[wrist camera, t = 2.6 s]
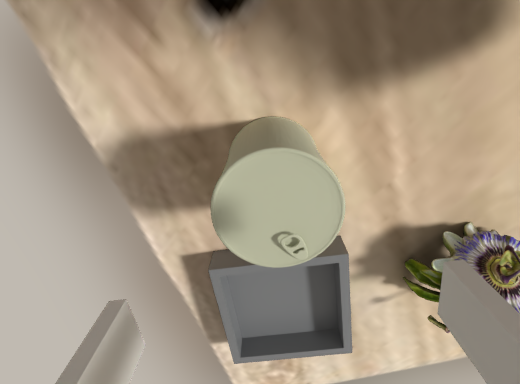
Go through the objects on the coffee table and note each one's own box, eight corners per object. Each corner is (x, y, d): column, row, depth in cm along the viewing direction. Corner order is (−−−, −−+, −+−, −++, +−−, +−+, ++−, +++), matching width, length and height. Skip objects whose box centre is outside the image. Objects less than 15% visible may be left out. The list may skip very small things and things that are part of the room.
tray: (213, 251, 35) (208, 270, 32) (340, 235, 34) (348, 253, 30) (236, 340, 41) (234, 363, 37) (345, 329, 40) (352, 352, 36)
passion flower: (438, 207, 38) (569, 220, 28) (448, 281, 40) (572, 318, 30) (384, 241, 33) (519, 273, 23) (399, 324, 35) (528, 387, 25)
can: (256, 215, 33) (252, 291, 22) (211, 144, 30) (180, 192, 19) (331, 177, 31) (369, 240, 20) (292, 98, 28) (311, 120, 17)
